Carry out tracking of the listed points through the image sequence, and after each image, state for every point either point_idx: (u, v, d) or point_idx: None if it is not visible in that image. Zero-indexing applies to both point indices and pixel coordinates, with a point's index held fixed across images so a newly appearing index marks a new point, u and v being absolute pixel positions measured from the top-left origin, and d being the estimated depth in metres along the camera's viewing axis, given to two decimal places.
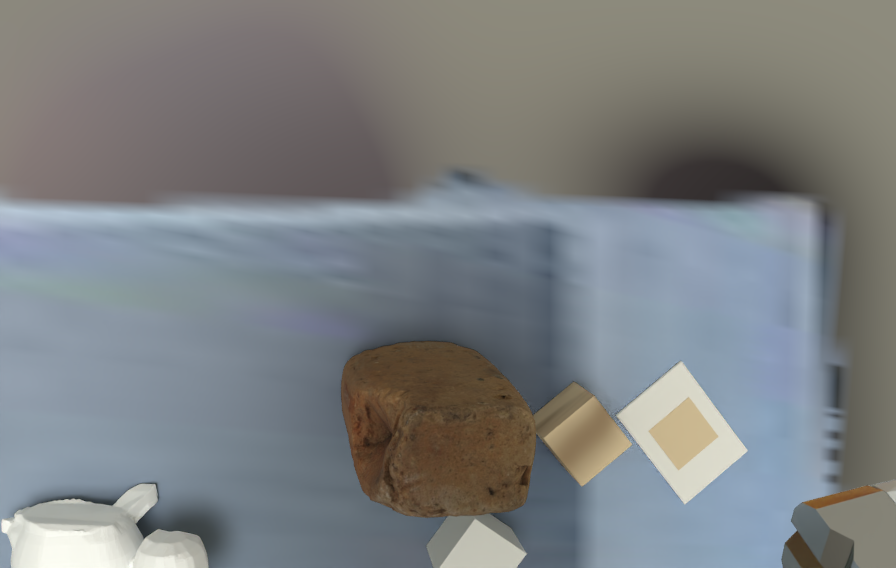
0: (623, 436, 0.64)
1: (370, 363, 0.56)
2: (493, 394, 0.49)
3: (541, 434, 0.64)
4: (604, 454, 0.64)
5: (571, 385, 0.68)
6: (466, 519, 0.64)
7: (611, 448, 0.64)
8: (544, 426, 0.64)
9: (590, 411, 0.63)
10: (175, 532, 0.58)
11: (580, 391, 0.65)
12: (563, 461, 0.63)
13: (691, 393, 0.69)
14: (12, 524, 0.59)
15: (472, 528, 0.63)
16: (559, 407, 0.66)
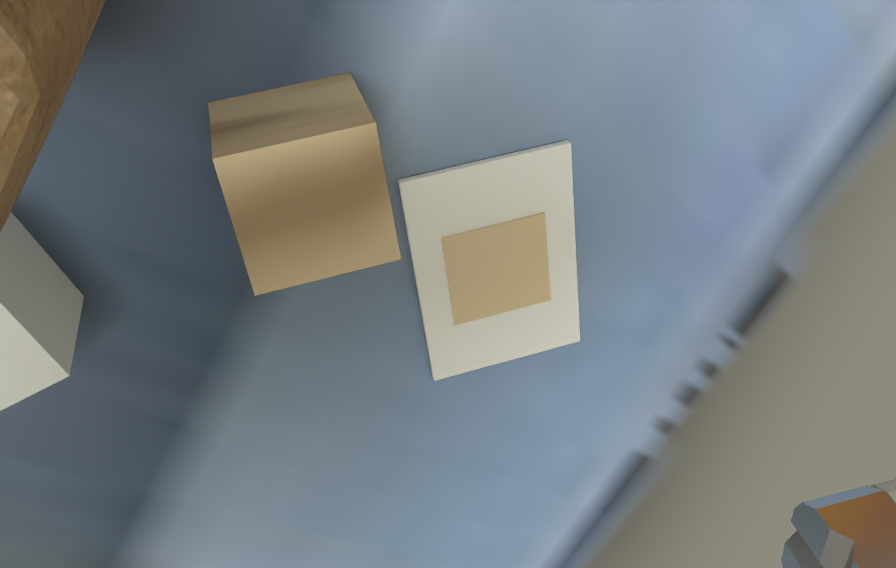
0: (392, 235, 0.28)
1: None
2: None
3: (214, 148, 0.26)
4: (334, 253, 0.28)
5: (340, 77, 0.29)
6: None
7: (355, 248, 0.28)
8: (232, 134, 0.26)
9: (349, 152, 0.26)
10: None
11: (350, 97, 0.28)
12: (237, 229, 0.26)
13: (552, 208, 0.34)
14: None
15: None
16: (289, 108, 0.27)
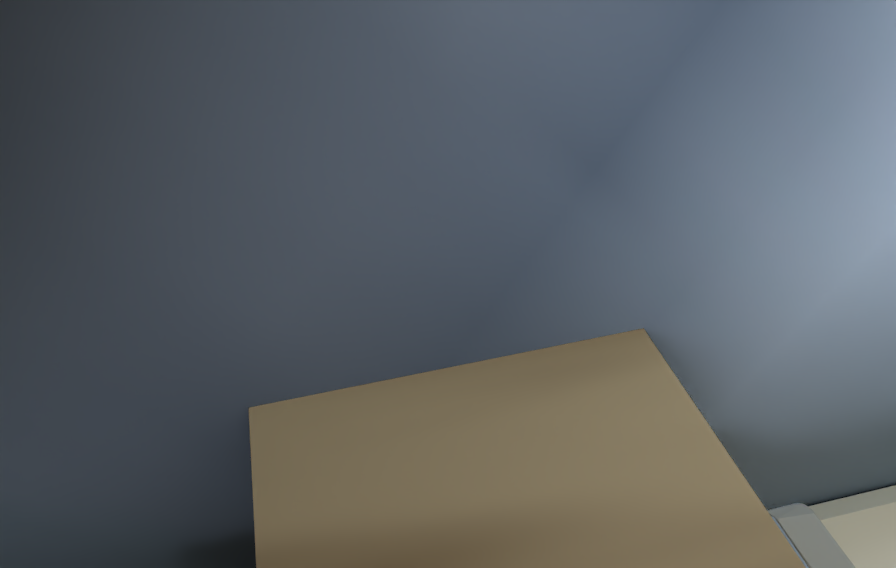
0: None
1: None
2: None
3: None
4: None
5: (623, 350, 0.10)
6: None
7: None
8: None
9: None
10: None
11: (704, 473, 0.09)
12: None
13: None
14: None
15: None
16: (513, 502, 0.09)
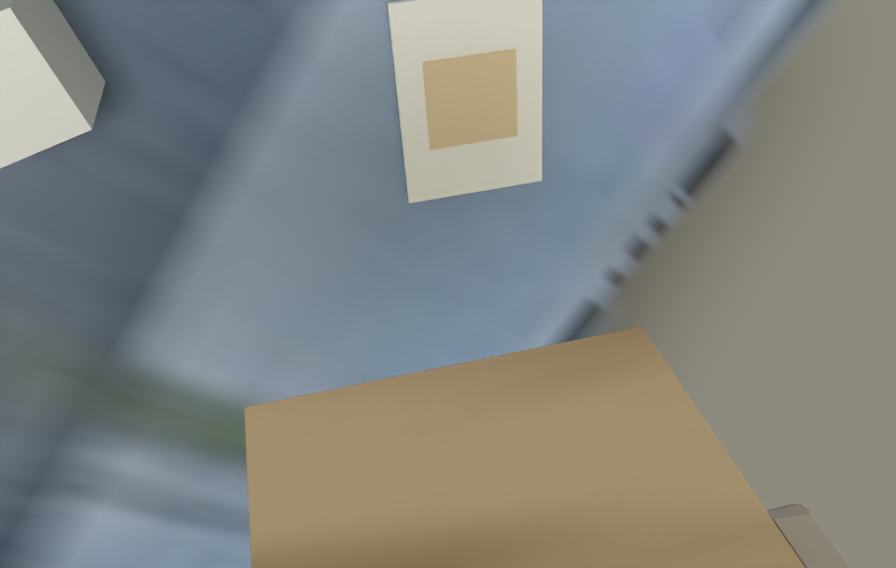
0: None
1: None
2: None
3: None
4: None
5: (624, 353, 0.10)
6: None
7: None
8: None
9: None
10: None
11: (706, 477, 0.09)
12: None
13: (523, 45, 0.39)
14: None
15: None
16: (512, 508, 0.08)
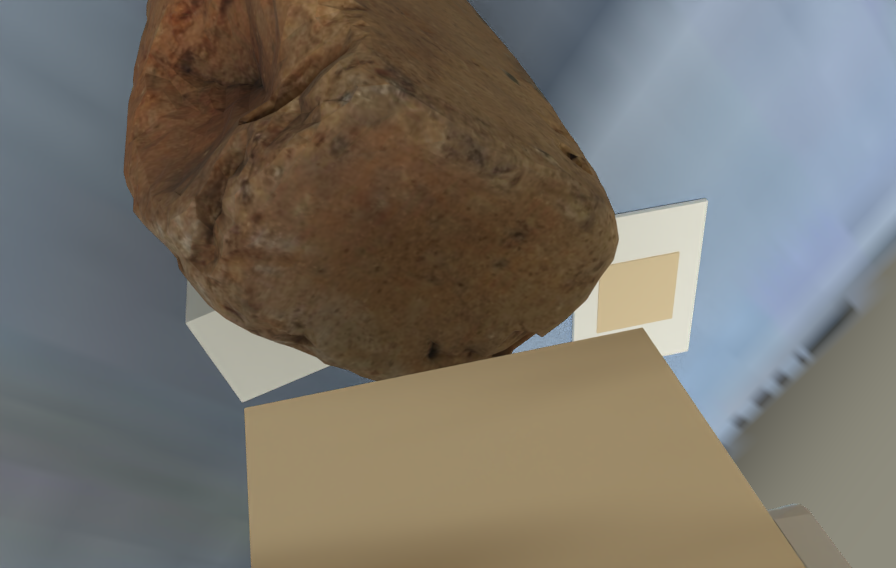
0: None
1: None
2: (555, 139, 0.19)
3: None
4: None
5: (625, 354, 0.10)
6: None
7: None
8: None
9: None
10: None
11: (708, 479, 0.09)
12: None
13: (685, 248, 0.44)
14: None
15: None
16: (513, 510, 0.08)
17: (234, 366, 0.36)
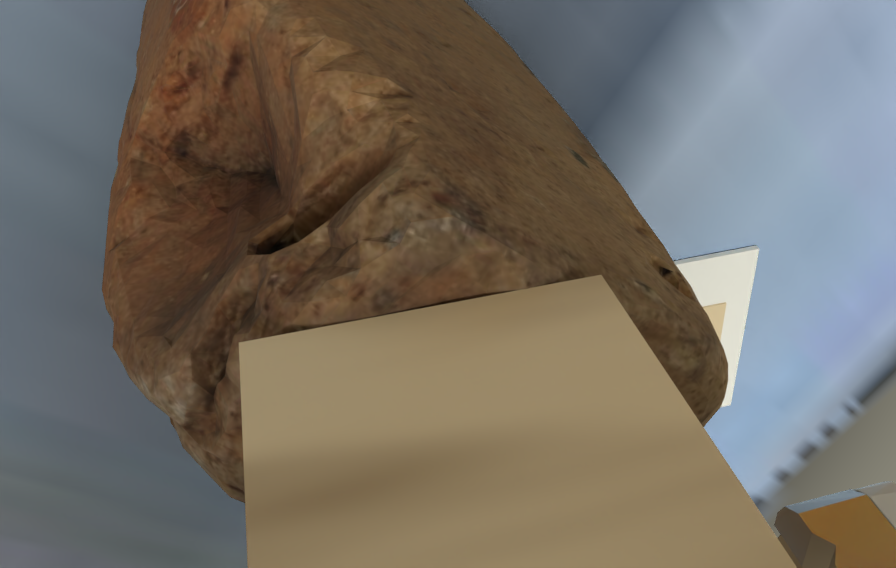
0: None
1: None
2: (646, 252, 0.15)
3: None
4: None
5: (584, 296, 0.11)
6: None
7: None
8: (317, 543, 0.08)
9: None
10: None
11: (650, 398, 0.10)
12: None
13: (732, 299, 0.40)
14: None
15: None
16: (477, 424, 0.09)
17: None
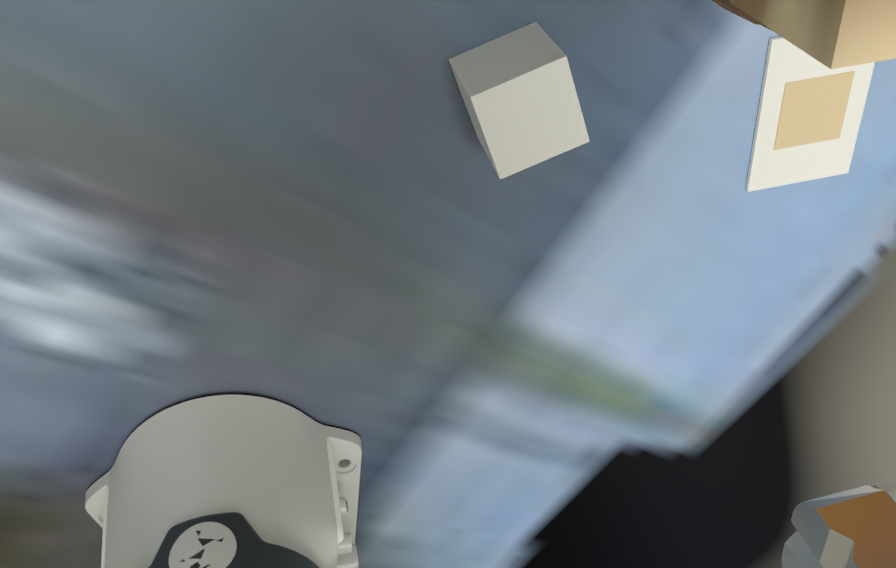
0: None
1: None
2: None
3: None
4: None
5: None
6: (544, 51, 0.41)
7: None
8: None
9: None
10: None
11: None
12: None
13: (859, 68, 0.50)
14: None
15: (554, 67, 0.40)
16: None
17: (500, 142, 0.42)
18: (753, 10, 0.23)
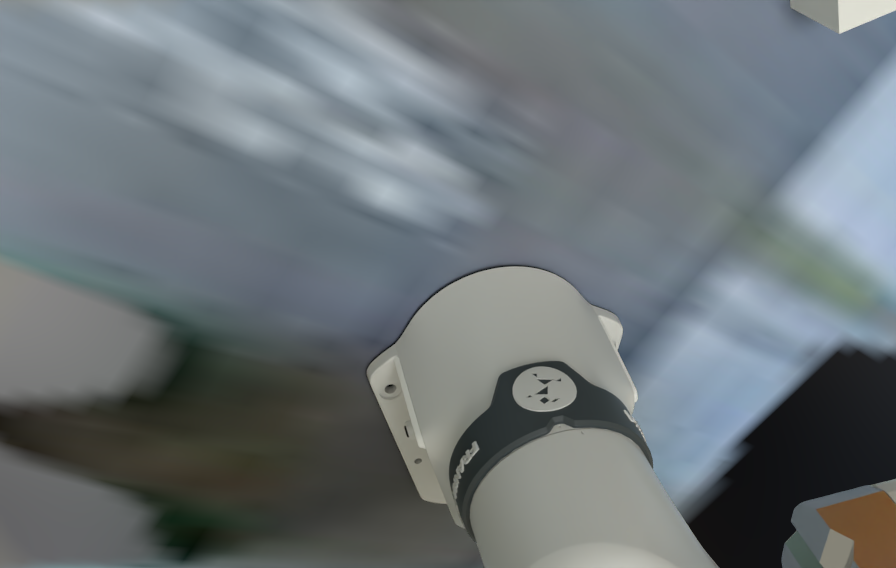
0: None
1: None
2: None
3: None
4: None
5: None
6: None
7: None
8: None
9: None
10: None
11: None
12: None
13: None
14: None
15: None
16: None
17: None
18: None
